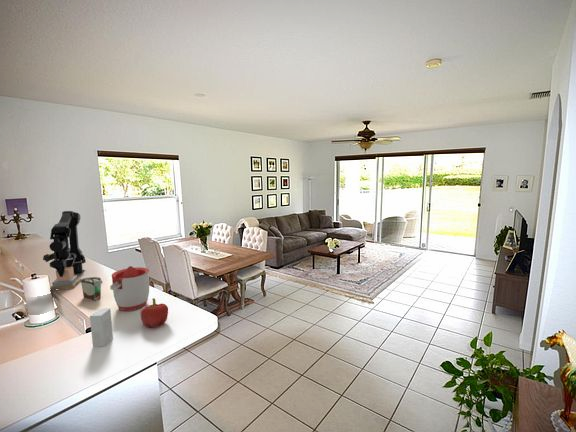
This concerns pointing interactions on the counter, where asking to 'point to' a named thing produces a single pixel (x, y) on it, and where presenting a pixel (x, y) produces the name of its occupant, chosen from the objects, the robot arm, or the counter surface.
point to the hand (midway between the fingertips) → (65, 274)
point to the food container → (91, 288)
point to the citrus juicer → (130, 287)
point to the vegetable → (154, 314)
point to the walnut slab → (66, 285)
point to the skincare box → (101, 327)
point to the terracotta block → (66, 274)
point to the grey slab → (64, 282)
